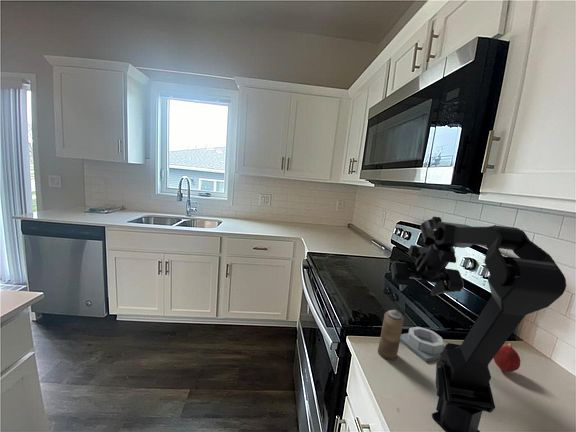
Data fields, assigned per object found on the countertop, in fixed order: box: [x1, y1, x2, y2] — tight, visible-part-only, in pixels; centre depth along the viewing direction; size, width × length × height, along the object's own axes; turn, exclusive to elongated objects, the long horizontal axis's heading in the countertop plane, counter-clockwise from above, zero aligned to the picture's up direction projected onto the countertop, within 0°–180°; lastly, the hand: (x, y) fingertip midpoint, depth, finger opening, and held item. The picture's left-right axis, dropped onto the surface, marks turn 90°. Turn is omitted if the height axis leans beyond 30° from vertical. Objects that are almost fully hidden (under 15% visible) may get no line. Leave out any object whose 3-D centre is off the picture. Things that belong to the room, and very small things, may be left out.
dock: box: [400, 326, 445, 363], centre depth 82 cm, size 11×11×4 cm
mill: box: [377, 309, 405, 361], centre depth 76 cm, size 5×5×13 cm
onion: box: [492, 343, 521, 373], centre depth 74 cm, size 6×6×8 cm
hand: (415, 291), depth 84 cm, fingers open, 9 cm apart
